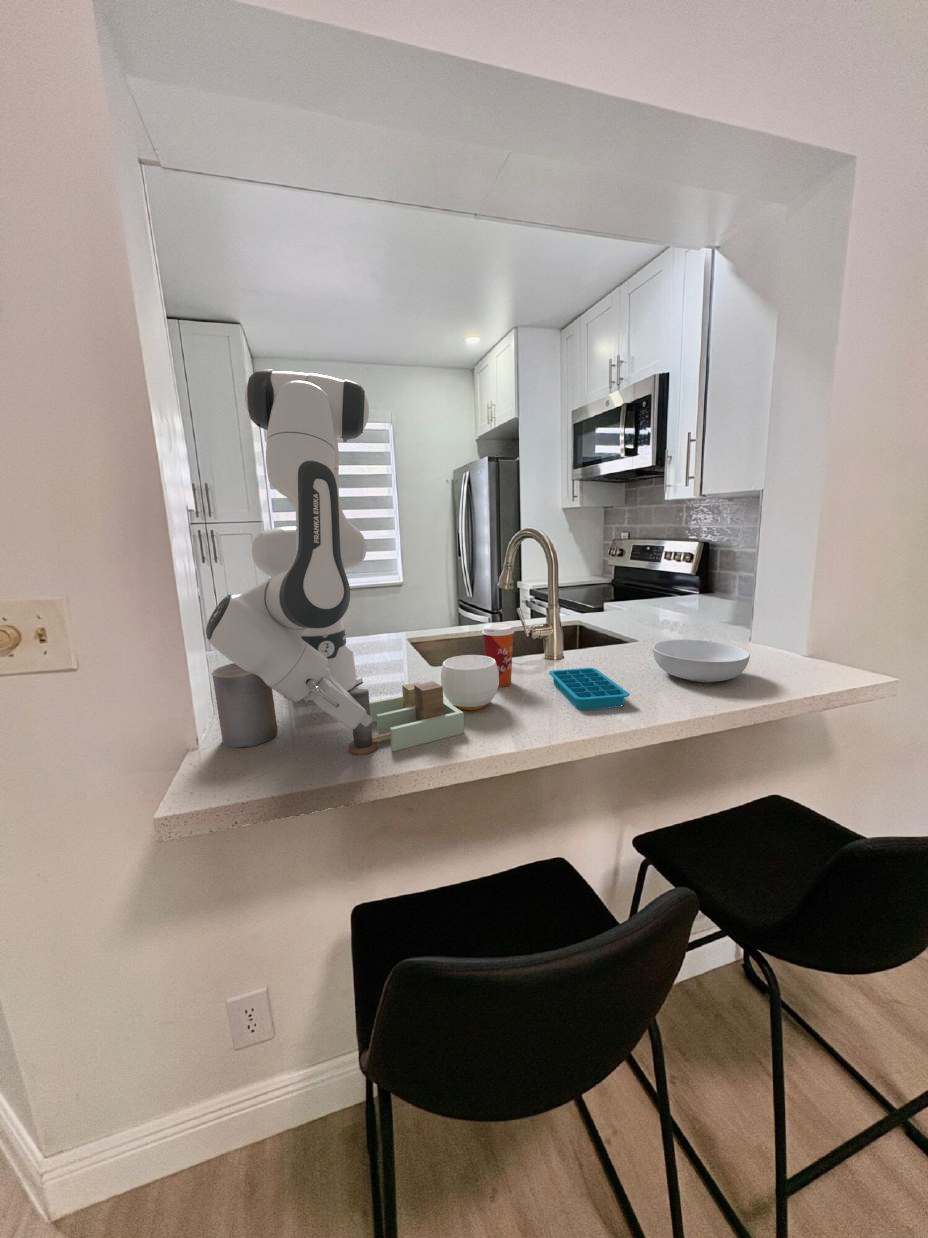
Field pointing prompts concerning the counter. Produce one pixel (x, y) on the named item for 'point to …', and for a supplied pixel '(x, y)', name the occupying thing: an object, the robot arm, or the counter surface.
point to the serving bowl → (700, 659)
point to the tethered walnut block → (365, 743)
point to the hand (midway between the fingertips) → (364, 717)
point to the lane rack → (413, 723)
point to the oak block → (408, 695)
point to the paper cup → (500, 649)
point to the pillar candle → (243, 707)
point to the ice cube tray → (588, 688)
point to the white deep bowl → (470, 680)
